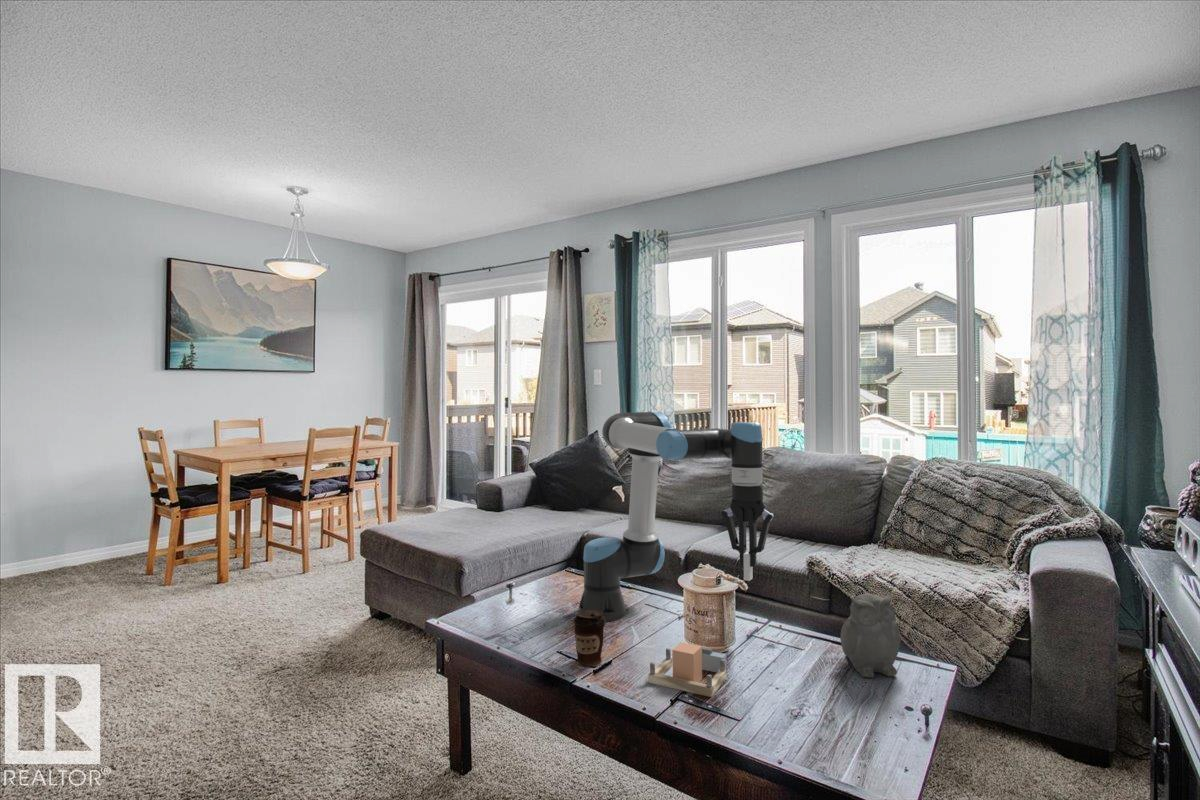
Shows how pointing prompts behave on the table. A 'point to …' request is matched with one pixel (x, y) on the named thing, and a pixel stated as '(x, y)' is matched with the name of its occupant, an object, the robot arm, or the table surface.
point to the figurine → (871, 635)
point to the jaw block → (687, 662)
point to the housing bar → (712, 660)
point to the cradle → (681, 684)
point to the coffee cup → (589, 637)
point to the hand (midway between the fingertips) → (748, 579)
